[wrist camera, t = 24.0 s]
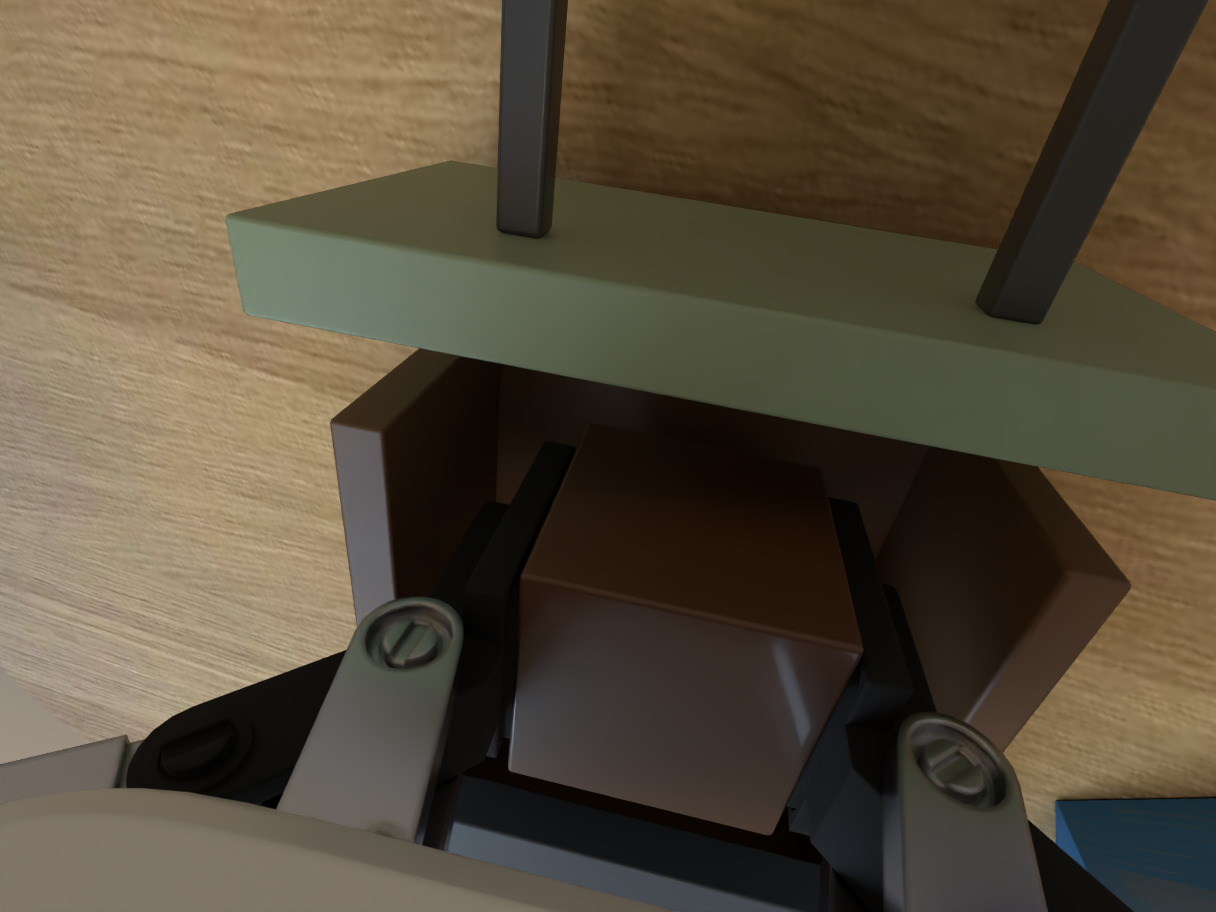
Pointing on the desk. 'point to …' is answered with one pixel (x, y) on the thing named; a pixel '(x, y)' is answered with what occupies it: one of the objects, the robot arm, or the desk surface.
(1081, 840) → the perfume bottle
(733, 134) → the desk surface
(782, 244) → the drawer
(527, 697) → the block
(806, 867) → the cabinet
